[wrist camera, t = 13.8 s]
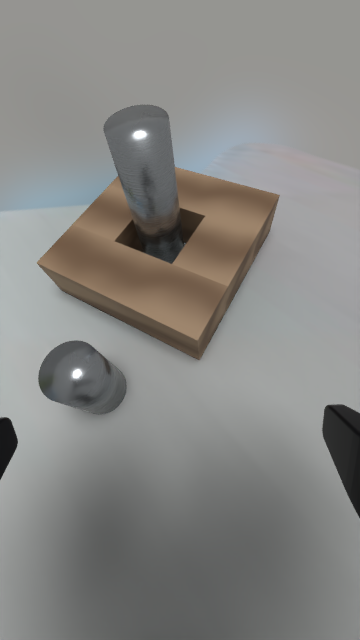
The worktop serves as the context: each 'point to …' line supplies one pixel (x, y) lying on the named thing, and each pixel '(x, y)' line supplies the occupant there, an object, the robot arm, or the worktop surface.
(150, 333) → the plate
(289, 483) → the worktop surface
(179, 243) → the long pin
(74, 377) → the short pin
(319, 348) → the worktop surface
